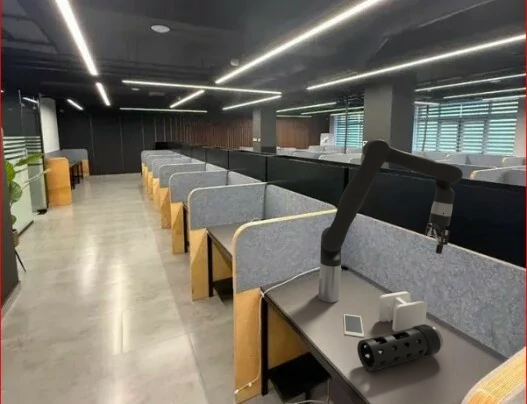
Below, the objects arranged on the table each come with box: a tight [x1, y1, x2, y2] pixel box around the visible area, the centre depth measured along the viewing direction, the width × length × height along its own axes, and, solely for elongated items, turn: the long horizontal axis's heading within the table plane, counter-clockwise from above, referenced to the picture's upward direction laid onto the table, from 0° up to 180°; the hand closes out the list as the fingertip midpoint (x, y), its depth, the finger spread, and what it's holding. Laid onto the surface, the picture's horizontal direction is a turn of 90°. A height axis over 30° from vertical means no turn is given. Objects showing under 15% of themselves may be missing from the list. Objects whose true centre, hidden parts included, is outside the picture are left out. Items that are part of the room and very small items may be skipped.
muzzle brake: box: [356, 323, 444, 372], centre depth 102 cm, size 10×28×10 cm, turn 110°
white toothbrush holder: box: [376, 290, 428, 332], centre depth 122 cm, size 15×11×12 cm
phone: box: [343, 313, 365, 339], centre depth 122 cm, size 7×14×1 cm, turn 167°
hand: (433, 250), depth 132 cm, fingers open, 8 cm apart
